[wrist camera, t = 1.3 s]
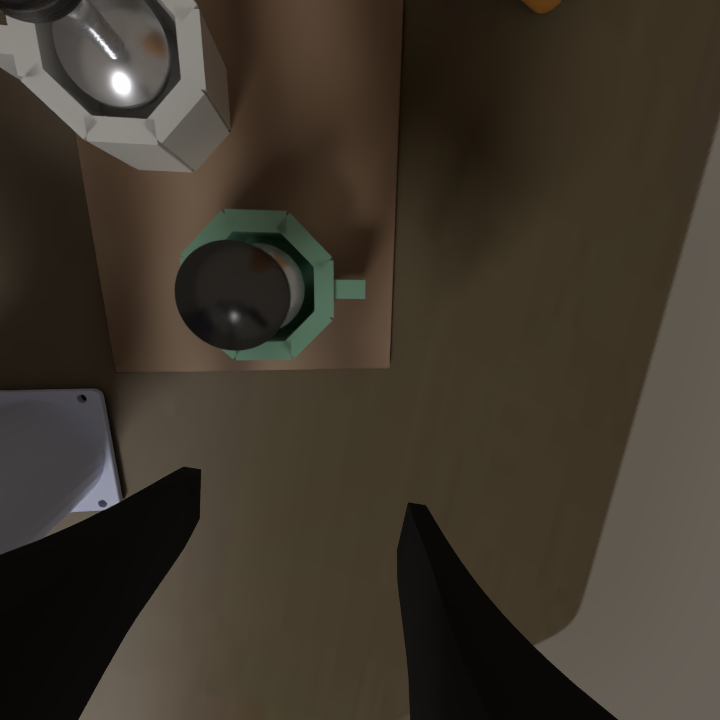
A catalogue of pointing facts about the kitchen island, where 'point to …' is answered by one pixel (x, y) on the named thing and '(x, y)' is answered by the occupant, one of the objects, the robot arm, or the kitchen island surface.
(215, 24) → the board
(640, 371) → the kitchen island surface
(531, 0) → the coffee package
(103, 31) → the grey plunger
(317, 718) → the kitchen island surface
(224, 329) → the black knob plunger
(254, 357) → the green octagonal cup
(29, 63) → the white faceted cup
